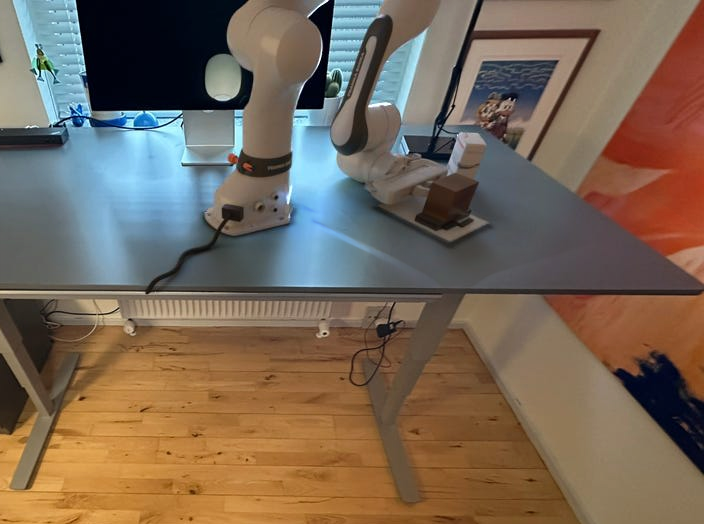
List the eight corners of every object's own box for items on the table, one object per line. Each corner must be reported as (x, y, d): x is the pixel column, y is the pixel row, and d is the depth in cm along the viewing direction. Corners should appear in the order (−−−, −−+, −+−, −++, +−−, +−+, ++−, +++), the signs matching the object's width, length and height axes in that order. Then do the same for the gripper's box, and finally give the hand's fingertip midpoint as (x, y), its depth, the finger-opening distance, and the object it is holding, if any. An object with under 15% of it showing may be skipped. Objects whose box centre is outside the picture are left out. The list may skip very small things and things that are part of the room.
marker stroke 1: (446, 230, 92) (447, 228, 91) (442, 228, 92) (442, 226, 92) (459, 224, 93) (459, 222, 93) (454, 222, 94) (455, 220, 94)
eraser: (435, 231, 92) (449, 194, 85) (414, 220, 95) (426, 184, 89) (469, 215, 96) (485, 179, 90) (447, 205, 99) (461, 170, 93)
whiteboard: (448, 245, 89) (450, 241, 89) (375, 208, 102) (376, 205, 101) (487, 226, 94) (489, 222, 93) (413, 193, 107) (414, 189, 106)
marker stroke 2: (462, 227, 92) (463, 225, 92) (457, 225, 93) (458, 223, 93) (473, 221, 94) (474, 219, 94) (468, 219, 95) (469, 217, 94)
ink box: (468, 193, 105) (488, 144, 97) (448, 192, 106) (466, 144, 98) (461, 179, 111) (479, 131, 103) (441, 178, 112) (458, 131, 103)
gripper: (363, 172, 96) (410, 193, 88) (421, 151, 103) (470, 169, 95) (357, 198, 101) (402, 220, 93) (413, 176, 108) (459, 195, 100)
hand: (437, 194), depth 94 cm, fingers closed
